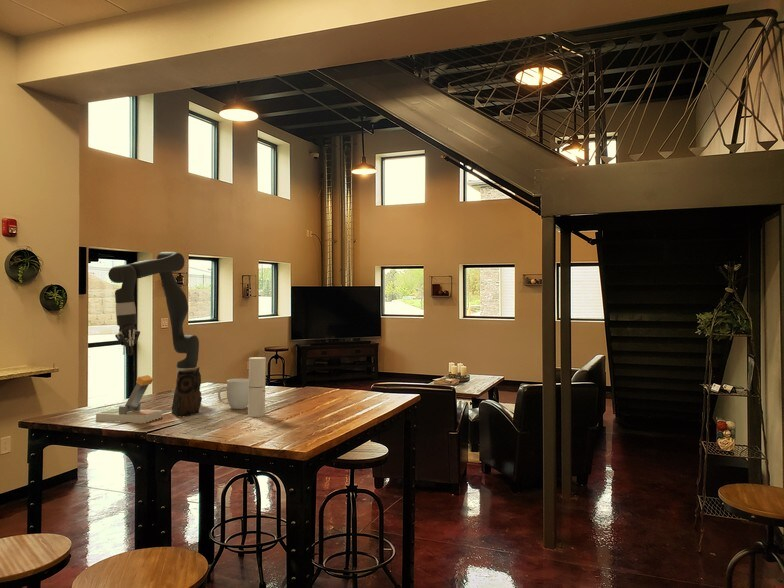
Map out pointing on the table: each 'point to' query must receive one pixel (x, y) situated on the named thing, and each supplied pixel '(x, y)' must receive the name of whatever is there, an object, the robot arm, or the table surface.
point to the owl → (187, 393)
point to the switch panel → (128, 415)
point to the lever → (138, 392)
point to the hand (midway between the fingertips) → (130, 354)
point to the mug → (236, 393)
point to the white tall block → (256, 387)
